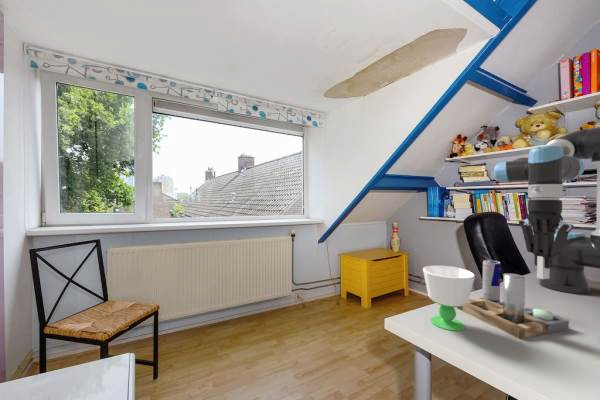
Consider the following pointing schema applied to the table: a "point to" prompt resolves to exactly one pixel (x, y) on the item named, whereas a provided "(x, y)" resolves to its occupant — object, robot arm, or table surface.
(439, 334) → the table surface
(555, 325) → the button housing
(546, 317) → the button
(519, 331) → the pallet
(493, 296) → the beverage can
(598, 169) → the robot arm
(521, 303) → the billet
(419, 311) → the table surface
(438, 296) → the cup
